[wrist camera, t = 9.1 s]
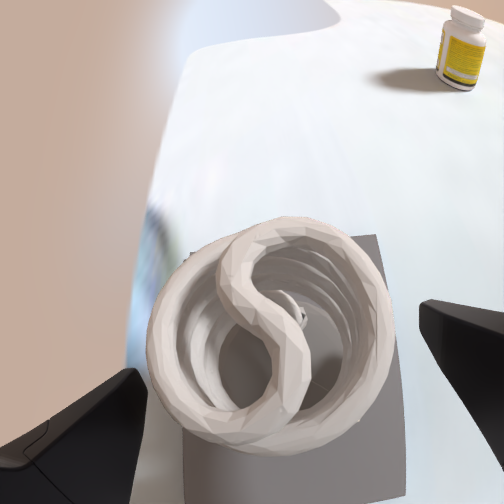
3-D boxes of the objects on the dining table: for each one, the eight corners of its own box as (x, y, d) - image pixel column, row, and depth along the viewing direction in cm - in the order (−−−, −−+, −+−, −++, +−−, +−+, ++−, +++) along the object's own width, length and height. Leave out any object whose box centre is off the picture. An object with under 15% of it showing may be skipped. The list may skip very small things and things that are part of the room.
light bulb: (245, 323, 17) (152, 180, 7) (346, 329, 16) (406, 181, 6) (231, 422, 15) (86, 433, 4) (338, 431, 14) (413, 482, 3)
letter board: (402, 493, 12) (406, 495, 11) (188, 503, 13) (184, 506, 13) (374, 239, 19) (376, 233, 19) (193, 256, 21) (189, 251, 20)
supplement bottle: (482, 93, 26) (499, 26, 17) (449, 91, 26) (465, 17, 18) (459, 69, 28) (471, 7, 20) (427, 67, 29) (436, -1, 20)
